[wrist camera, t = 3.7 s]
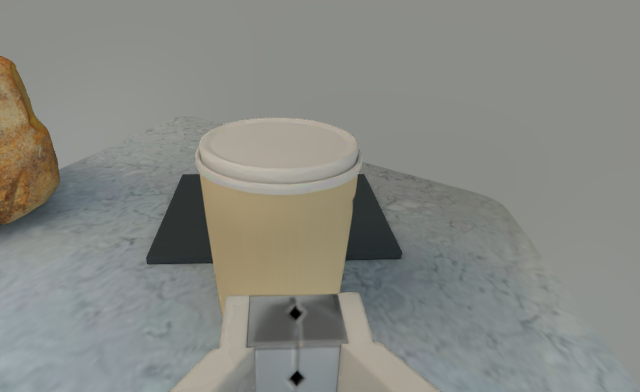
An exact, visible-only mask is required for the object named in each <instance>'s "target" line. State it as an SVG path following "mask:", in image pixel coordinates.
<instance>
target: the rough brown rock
mask: <svg viewBox="0 0 640 392" xmlns="http://www.w3.org/2000/svg"><path fill="white" fill-rule="evenodd" d="M59 182H60V177H59V170H58V162H57V157H56V154H55V151H54V148H53V145H52V141H51V138H50V135H49V132H48V130H47V128H46V127H45V126H44V125H43V124H42V123H41V122H40V121H39V120H38V119H37V118H36V116H35V115H34V112H33V110H32V106H31V102H30V99H29V97H28V94H27V92H26V89H25V86H24V84H23V82H22V79H21V77H20V75H19V73H18V71H17V69H16V65H15V64H14V63H13V62H12V61H10V60H8V59H6V58H4V57H2V56H0V224H9V223H11V222H13V221H15V220H17V219H19V218H21V217H23V216H24V215H26V214H28V213H29V212H31V211H33V210H34V209H35V208H37V207H38V206H40V205H42V204H44V203H45V202H46V201H47V200H48V199H49V198H50V196H51V195H52V194H53V193H54V192H55V190H56V189H57V187H58V185H59Z"/></svg>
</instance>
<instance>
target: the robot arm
mask: <svg viewBox="0 0 640 392" xmlns="http://www.w3.org/2000/svg"><path fill="white" fill-rule="evenodd" d="M169 392H441V391H440V390H439V389H438V388H436V387H435V386H434V385H433V384H431V383H430V382H429V381H428V380H427V379H425V378H424V377H423V376H422V375H420V374H419V373H418V372H417V371H415V370H414V369H413V368H412V367H411V366H409V365H408V364H407V363H406V362H404V361H403V360H402V359H401V358H399V357H398V356H397V355H396V354H395V353H393V352H392V351H391V350H390V349H388V348H387V347H386V346H385V345H383V344H382V343H381V342H378V343H374V339H373V336H372V333H371V329H370V326H369V322H368V319H367V316H366V312H365V309H364V305H363V302H362V299H361V295H360V294H359V293H358V292H346V293H337V294H308V295H250V296H249V295H228V296H227V298H226V300H225V307H224V315H223V322H222V329H221V337H220V344H219V349H211V350H210V351H209V352H208V353H207V354H206V355H205V356H204V357H203V358H202V359H201V360H200V361H199V362H198V363H197V364H196V365H195V366H194V367H193V368H192V369H191V370H190V371H189V372H188V373H187V374H186V375H185V376H184V377H183V378H182V379H181V380H180V381H179V382H178V383H177V384H176V385H175V386H174V387H173V388H172V389H171V390H170V391H169Z"/></svg>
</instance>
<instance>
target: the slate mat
mask: <svg viewBox="0 0 640 392" xmlns="http://www.w3.org/2000/svg"><path fill="white" fill-rule="evenodd" d="M401 255H402V252H401V250H400V248H399V246H398V243H397V241H396V239H395V237H394V235H393V233H392V231H391V229H390V227H389V225H388V223H387V221H386V219H385V217H384V214H383V212H382V210H381V208H380V206H379V204H378V202H377V200H376V198H375V196H374V194H373V192H372V190H371V188H370V185H369V183H368V181H367V179H366V177H365V175H364V174H358V178H357V186H356V193H355V200H354V207H353V213H352V219H351V226H350V232H349V239H348V245H347V251H346V257H345V260H346V259H390V258H401ZM146 259H147V264H169V263H213V259H212V252H211V246H210V240H209V234H208V227H207V221H206V215H205V207H204V200H203V193H202V186H201V179H200V174H183V175H182V177H181V180H180V182H179V184H178V187H177V189H176V191H175V193H174V196H173V198H172V200H171V203H170V205H169V207H168V209H167V212H166V214H165V216H164V219H163V221H162V223H161V225H160V228H159V230H158V232H157V235H156V237H155V239H154V242H153V244H152V246H151V248H150V251H149V253H148V255H147V258H146Z"/></svg>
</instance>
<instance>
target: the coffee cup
mask: <svg viewBox="0 0 640 392" xmlns="http://www.w3.org/2000/svg"><path fill="white" fill-rule="evenodd" d="M195 162H196V166H197V169H198V171H199V172H200V179H201V186H202V193H203V200H204V207H205V215H206V221H207V227H208V234H209V240H210V246H211V252H212V259H213V265H214V271H215V277H216V284H217V290H218V296H219V302H220V307H221V312H222V316H223V315H224V307H225V300H226V298H227V296H228V295H249V296H250V295H308V294H337V293H340V288H341V282H342V276H343V269H344V263H345V257H346V251H347V245H348V239H349V232H350V226H351V219H352V213H353V207H354V200H355V193H356V186H357V178H358V173H359V172H360V170H361V166H362V153H361V151H360V150H359V148H358V143H357V141H356V139H355V138H354V137H353V136H352V135H351V134H350V133H348V132H346V131H345V130H343V129H341V128H338V127H336V126H333V125H330V124H325V123H322V122H318V121H312V120H306V119H296V118H256V119H247V120H241V121H236V122H231V123H227V124H224V125H221V126H218V127H216V128H213V129H212V130H210V131H208V132H207V133H206V134H205V135H204V136H203V137H202V138H201V140H200V144H199V147H198V149H197V150H196V153H195Z"/></svg>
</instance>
